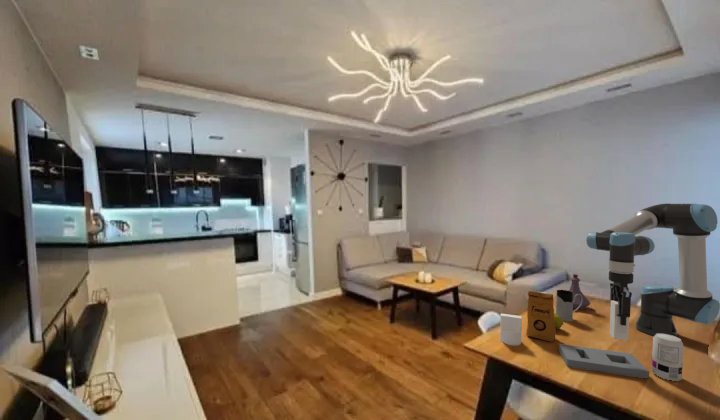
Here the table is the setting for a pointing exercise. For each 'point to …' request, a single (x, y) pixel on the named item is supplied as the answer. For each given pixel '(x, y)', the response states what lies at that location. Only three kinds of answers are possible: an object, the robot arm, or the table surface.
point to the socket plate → (602, 361)
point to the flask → (576, 290)
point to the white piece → (510, 329)
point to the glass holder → (565, 304)
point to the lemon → (558, 321)
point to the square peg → (613, 322)
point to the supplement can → (667, 357)
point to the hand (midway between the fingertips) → (618, 329)
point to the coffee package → (541, 316)
